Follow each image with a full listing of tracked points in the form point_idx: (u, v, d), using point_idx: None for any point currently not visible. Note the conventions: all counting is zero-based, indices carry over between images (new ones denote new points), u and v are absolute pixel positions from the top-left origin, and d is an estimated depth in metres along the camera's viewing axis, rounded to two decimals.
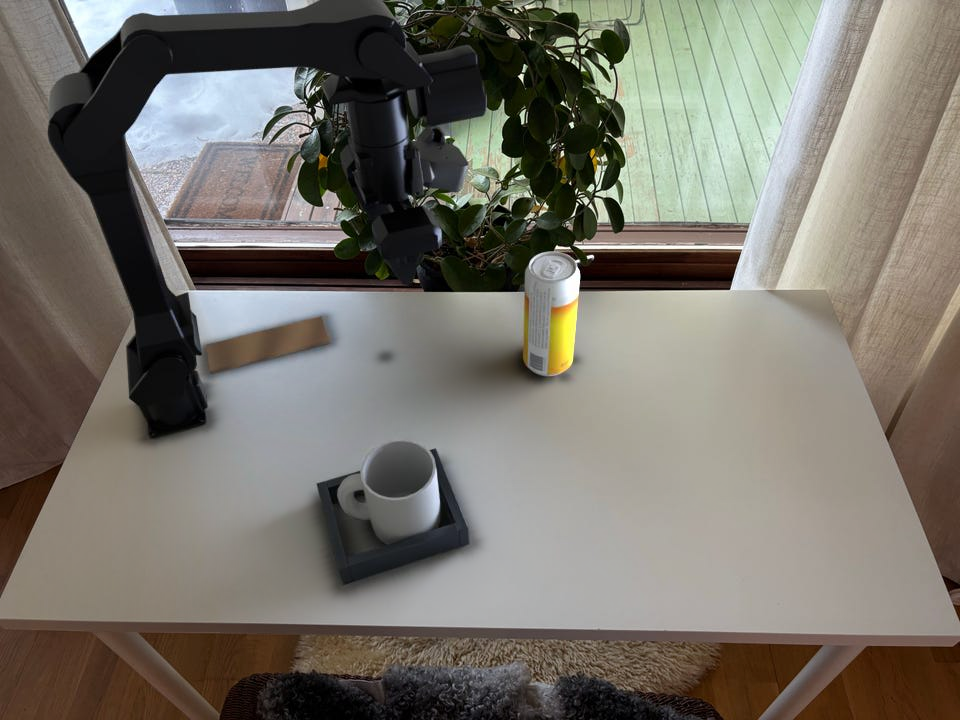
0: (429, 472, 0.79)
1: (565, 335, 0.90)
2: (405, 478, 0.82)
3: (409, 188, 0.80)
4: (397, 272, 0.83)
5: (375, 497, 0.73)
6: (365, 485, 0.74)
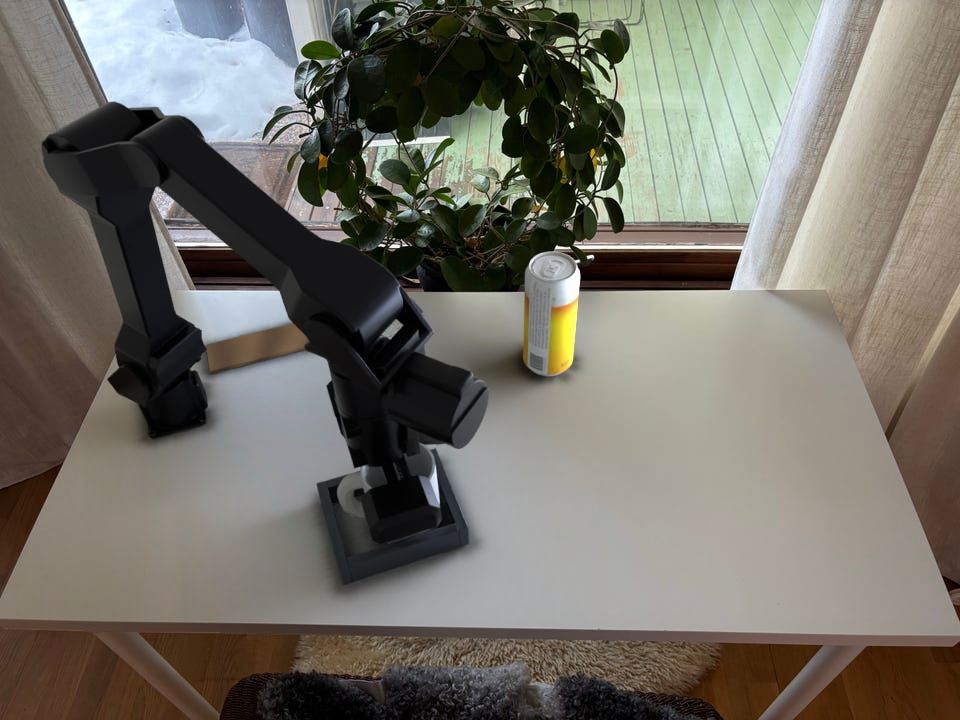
0: (429, 470, 0.79)
1: (565, 335, 0.90)
2: None
3: (404, 448, 0.70)
4: None
5: None
6: (365, 483, 0.74)
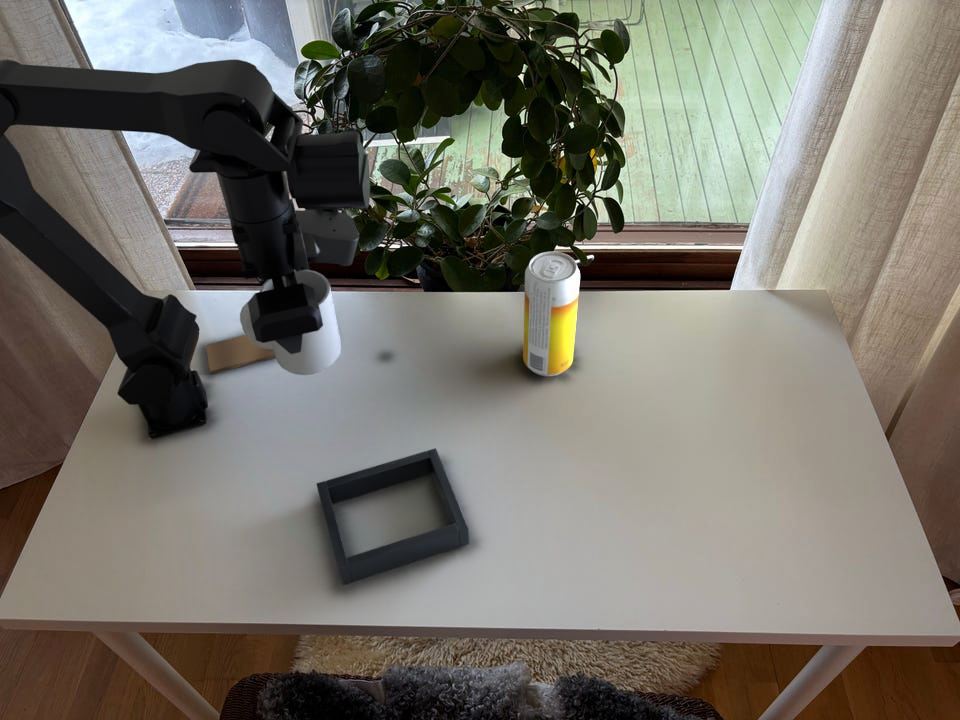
0: None
1: (565, 335, 0.90)
2: None
3: (293, 262, 0.75)
4: (280, 342, 0.78)
5: None
6: None
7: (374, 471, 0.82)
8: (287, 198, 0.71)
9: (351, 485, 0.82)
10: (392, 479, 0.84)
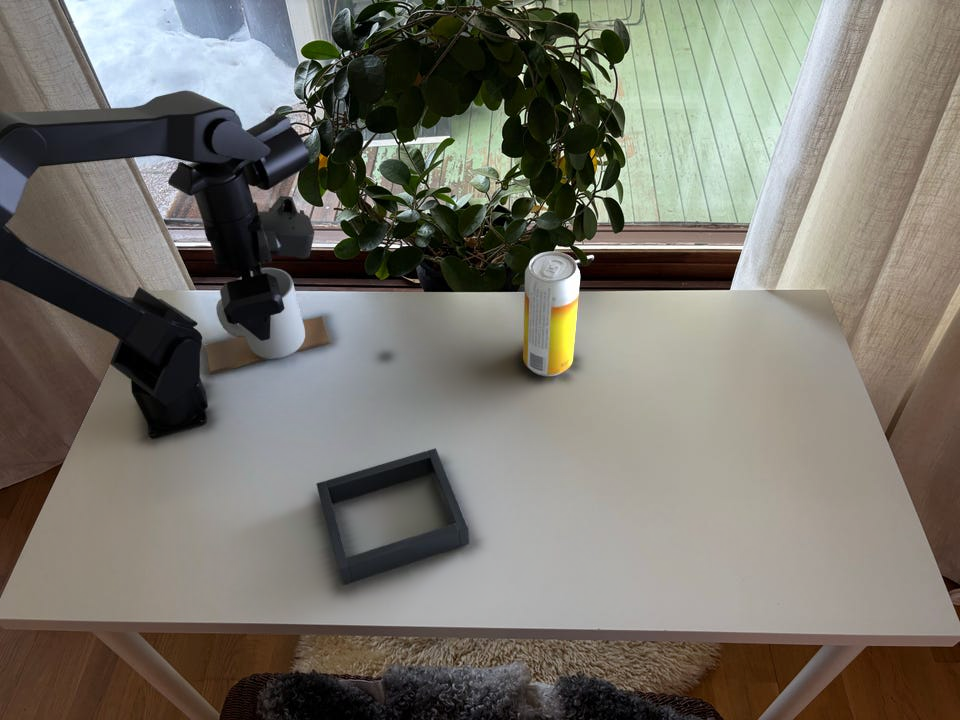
0: None
1: (565, 335, 0.90)
2: None
3: (258, 256, 0.88)
4: (251, 330, 0.91)
5: None
6: None
7: (374, 471, 0.82)
8: None
9: (351, 485, 0.82)
10: (392, 479, 0.84)
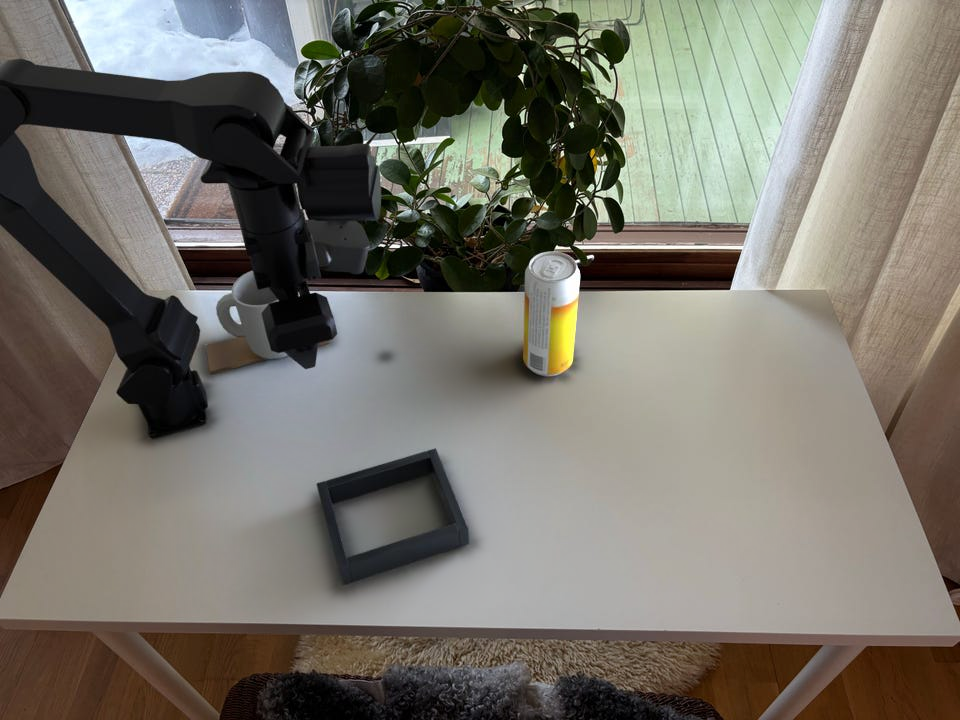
0: None
1: (565, 335, 0.90)
2: None
3: (304, 272, 0.75)
4: (295, 358, 0.78)
5: (241, 305, 0.92)
6: (234, 297, 0.92)
7: (374, 471, 0.82)
8: (298, 209, 0.72)
9: (351, 485, 0.82)
10: (392, 479, 0.84)
